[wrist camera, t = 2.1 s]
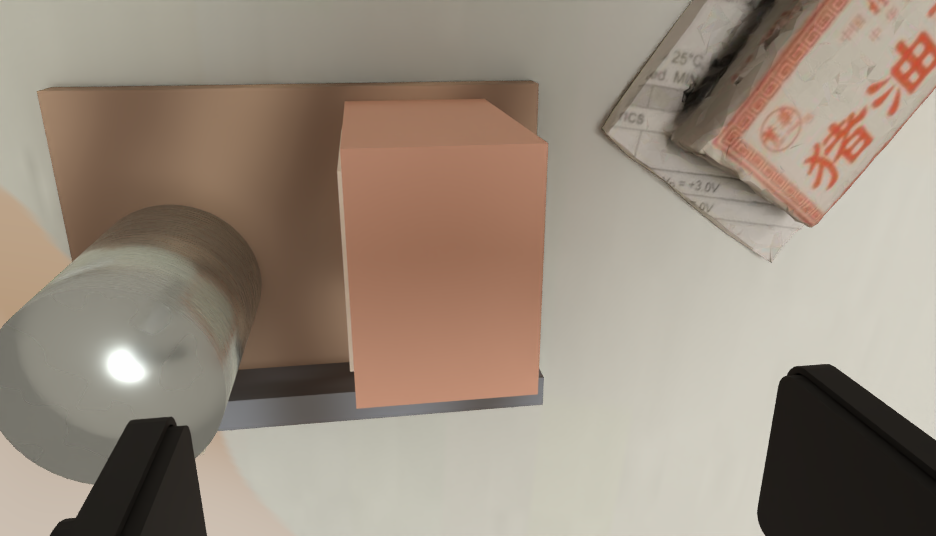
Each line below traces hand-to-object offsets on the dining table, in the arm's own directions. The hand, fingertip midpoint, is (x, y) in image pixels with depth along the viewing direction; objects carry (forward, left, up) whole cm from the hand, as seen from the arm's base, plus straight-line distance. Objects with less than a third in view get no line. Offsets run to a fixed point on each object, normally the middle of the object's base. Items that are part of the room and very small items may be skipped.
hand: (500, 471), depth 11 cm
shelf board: (+4, +2, -18) cm, 18 cm away
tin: (+9, +3, -17) cm, 19 cm away
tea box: (0, 0, -17) cm, 17 cm away
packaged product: (-17, -7, -19) cm, 26 cm away
